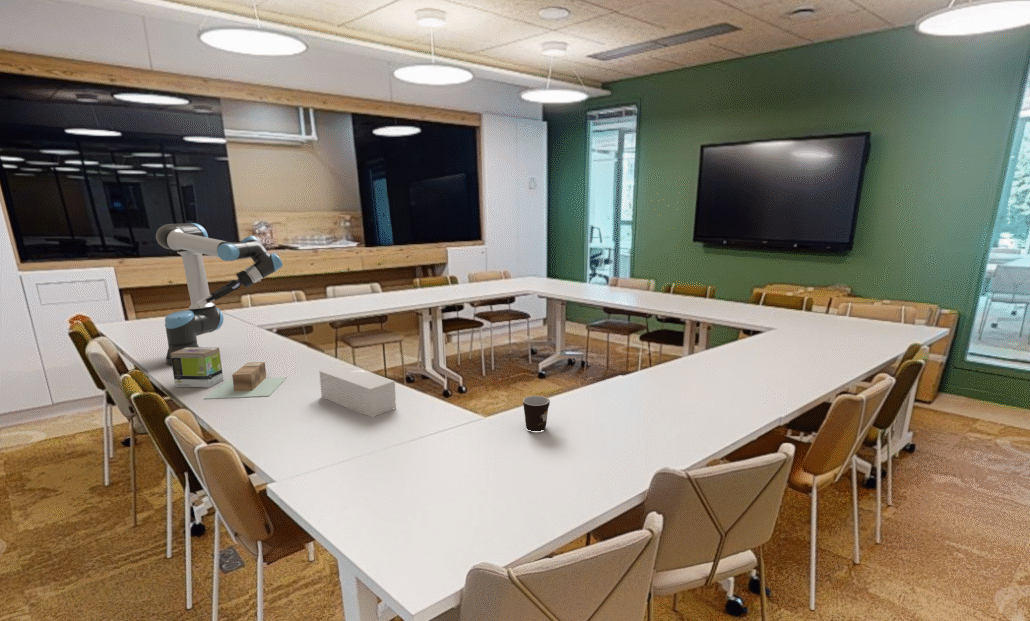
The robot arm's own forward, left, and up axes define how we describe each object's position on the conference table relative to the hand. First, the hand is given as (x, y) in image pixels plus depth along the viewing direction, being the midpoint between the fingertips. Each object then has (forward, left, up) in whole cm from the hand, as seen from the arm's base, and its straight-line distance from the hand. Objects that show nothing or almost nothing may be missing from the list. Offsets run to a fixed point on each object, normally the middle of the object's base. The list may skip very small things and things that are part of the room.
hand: (198, 305), depth 226 cm
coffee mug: (+77, +138, -31) cm, 160 cm away
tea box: (+16, +4, -31) cm, 35 cm away
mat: (+24, +26, -30) cm, 46 cm away
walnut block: (+12, +26, -27) cm, 39 cm away
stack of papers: (+45, +73, -31) cm, 91 cm away
